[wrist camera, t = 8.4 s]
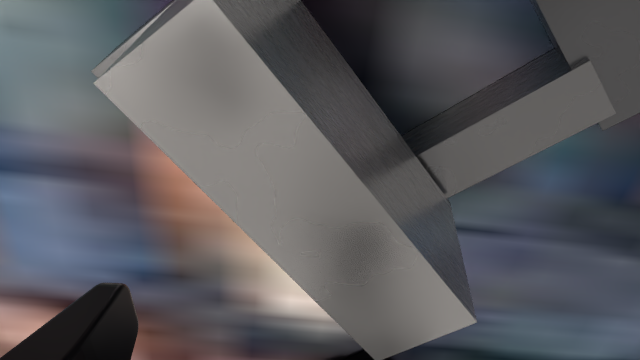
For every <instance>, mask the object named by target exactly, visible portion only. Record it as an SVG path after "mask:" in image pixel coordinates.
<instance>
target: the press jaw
mask: <svg viewBox="0 0 640 360" xmlns="http://www.w3.org/2000/svg"><path fill="white" fill-rule="evenodd" d="M94 84H95V85H96V86H97V87H98V88H99V89H100V90H101V91H102V92H103V93H104V94H105V95H106V96H107V97H108V98H109V99H110V100H111V101H112V102H113V103H114V104H115V105H116V106H117V107H118V108H119V109H120V110H121V111H122V112H123V113H124V114H125V115H126V116H127V117H128V118H129V119H130V120H131V121H132V122H133V123H134V124H135V125H136V126H137V127H138V128H139V129H140V130H141V131H142V132H143V133H144V134H145V135H146V136H147V137H149V138H150V139H151V140H152V141H153V142H154V143H155V144H156V145H157V146H158V147H159V148H160V149H161V150H162V151H163V152H164V153H165V154H166V155H167V156H168V157H169V158H170V159H171V160H172V161H173V162H174V163H175V164H176V165H177V166H178V167H179V168H180V169H181V170H182V171H183V172H184V173H185V174H186V175H187V176H188V177H189V178H190V179H191V180H192V181H193V182H194V183H195V184H196V185H197V186H198V187H199V188H200V189H201V190H202V191H203V192H204V193H205V194H207V195H208V196H209V197H210V198H211V199H212V200H213V201H214V202H215V203H216V204H217V205H218V206H219V207H220V208H221V209H222V210H223V211H224V212H225V213H226V214H227V215H228V216H229V217H230V218H231V219H232V220H233V221H234V222H235V223H236V224H237V225H238V226H239V227H240V228H241V229H242V230H243V231H244V232H245V233H246V234H247V235H248V236H249V237H250V238H251V239H252V240H253V241H254V242H255V243H256V244H257V245H258V246H259V247H260V248H261V249H262V250H263V251H265V252H266V253H267V254H268V255H269V256H270V257H271V258H272V259H273V260H274V261H275V262H276V263H277V264H278V265H279V266H280V267H281V268H282V269H283V270H284V271H285V272H286V273H287V274H288V275H289V276H290V277H291V278H292V279H293V280H294V281H295V282H296V283H297V284H298V285H299V286H300V287H301V288H302V289H303V290H304V291H305V292H306V293H307V294H308V295H309V296H310V297H311V298H312V299H313V300H314V301H315V302H316V303H317V304H318V305H319V306H320V307H321V308H322V309H324V310H325V311H326V312H327V313H328V314H329V315H330V316H331V317H332V318H333V319H334V320H335V321H336V322H337V323H338V324H339V325H340V326H341V327H342V328H343V329H344V330H345V331H346V332H347V333H348V334H349V335H350V336H351V337H352V338H353V339H354V340H355V341H356V342H357V343H358V344H359V345H360V346H361V347H362V348H363V349H364V350H365V351H366V352H367V353H368V354H369V355H370V356H371V357H372V358H373V359H374V360H383V359H385V358H388V357H390V356H393V355H395V354H398V353H400V352H403V351H405V350H408V349H411V348H413V347H416V346H418V345H421V344H423V343H426V342H428V341H431V340H433V339H436V338H438V337H441V336H444V335H446V334H449V333H451V332H454V331H456V330H459V329H461V328H464V327H466V326H469V325H471V324H474V323H477V319H476V315H475V310H474V306H473V302H472V297H471V293H470V288H469V284H468V280H467V275H466V271H465V266H464V262H463V257H462V253H461V249H460V244H459V240H458V235H457V231H456V227H455V222H454V218H453V213H452V209H451V204H450V202H449V201H448V199H447V198H446V197H445V195H444V194H443V192H442V191H441V190H440V188H439V187H438V186H437V184H436V183H435V182H434V180H433V179H432V178H431V176H430V175H429V173H428V172H427V171H426V169H425V168H424V167H423V165H422V164H421V163H420V161H419V160H418V159H417V157H416V156H415V154H414V153H413V152H412V150H411V149H410V148H409V146H408V145H407V144H406V142H405V141H404V140H403V138H402V137H401V135H400V134H399V133H398V131H397V130H396V129H395V127H394V126H393V125H392V123H391V122H390V121H389V119H388V118H387V117H386V115H385V114H384V112H383V111H382V110H381V108H380V107H379V106H378V104H377V103H376V102H375V100H374V99H373V98H372V96H371V95H370V93H369V92H368V91H367V89H366V88H365V87H364V85H363V84H362V83H361V81H360V80H359V79H358V77H357V76H356V74H355V73H354V72H353V70H352V69H351V68H350V66H349V65H348V64H347V62H346V61H345V60H344V58H343V57H342V55H341V54H340V53H339V51H338V50H337V49H336V47H335V46H334V45H333V43H332V42H331V41H330V39H329V38H328V36H327V35H326V34H325V32H324V31H323V30H322V28H321V27H320V26H319V24H318V23H317V22H316V20H315V19H314V17H313V16H312V15H311V13H310V12H309V11H308V9H307V8H306V7H305V5H304V4H303V3H302V1H301V0H176V1H175V2H174V3H173V4H171V5H170V6H169V7H168V8H167V9H166V10H165V11H164V12H163V13H162V14H161V15H160V16H159V17H158V18H157V19H156V20H155V21H154V22H153V23H152V24H151V25H150V26H149V27H148V28H147V29H146V30H145V31H144V32H143V33H142V34H141V35H140V36H139V37H138V39H137V40H136V41H135V42H134V43H133V44H132V45H131V46H130V47H129V48H128V49H127V50H126V51H125V52H124V53H123V54H122V55H121V56H120V57H119V58H118V59H117V60H116V61H115V62H114V63H113V64H112V65H111V66H110V67H109V68H108V69H107V70H106V71H105V72H104V73H103V74H102V75H101V76H100V77H99V78H98V79H97V80H96V81H95V82H94Z"/></svg>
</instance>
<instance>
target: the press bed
mask: <svg viewBox="0 0 640 360" xmlns="http://www.w3.org/2000/svg"><path fill="white" fill-rule="evenodd" d="M175 1H176V0H172V1H171V2H170V3H169V4H167V5H166V6H165V7H164V8H163V9H161V10H160V11H159V12H158V13H157V14H156V15H154V16H153V17H152V18H151V19H150V20H148V21H147V22H146V23H145V24H144V25H142V26H141V27H140V28H139V29H138V30H137V31H135V32H134V33H133V34H132V35H131V36H129V37H128V38H127V39H126V40H125V41H124V42H122V43H121V44H120V45H119V46H118V47H116V48H115V49H114V50H113V51H112V52H111V53H110V54H109V55H108V56H107V57H106V58H105V59H103V60H102V61H101V62H100V63H99V64H98V65H97V66H96V67H95V68H94V69H93V70H92V71H91V72H92V73H93V74H94V75H95V76H96V77H97V78H99V77H100V76H101V75H102V74H103V73H104V72H105V71H106V70H107V69H108V68H109V67H110V66H111V65H112V64H113V63H114V62H115V61H116V60H117V59H118V58H119V57H120V56H121V55H122V54H123V53H124V52H125V51H126V50H127V49H128V48H129V47H130V46H131V45H132V44H133V43H134V42H135V41H136V40H137V39H138V37H139V36H140V35H141V34H142V33H143V32H144V31H145V30H146V29H147V28H148V27H149V26H150V25H151V24H152V23H153V22H154V21H155V20H156V19H157V18H158V17H159V16H160V15H161V14H162V13H163V12H164V11H165V10H166V9H167V8H168V7H169V6H170V5H171V4H173V3H174V2H175ZM530 2H531V3H532V5H533V7H534V9H535V11H536V13H537V15H538V17H539V19H540V21H541V23H542V25H543V27H544V29H545V31H546V32H547V34H548V36H549V38H550V40H551V42H552V44H553V46H554V49H553V50H551V51H549V52H547V53H546V54H544V55H542V56H540V57H539V58H537V59H535V60H533V61H532V62H530V63H528V64H526V65H525V66H523V67H521V68H519V69H518V70H516V71H514V72H512V73H511V74H509V75H507V76H505V77H504V78H502V79H500V80H498V81H497V82H495V83H493V84H491V85H490V86H488V87H486V88H484V89H483V90H481V91H479V92H477V93H476V94H474V95H472V96H470V97H469V98H467V99H465V100H463V101H462V102H460V103H458V104H456V105H455V106H453V107H451V108H450V109H448V110H446V111H444V112H443V113H441V114H439V115H437V116H436V117H434V118H432V119H430V120H429V121H427V122H425V123H423V124H422V125H420V126H418V127H416V128H415V129H413V130H411V131H409V132H408V133H406V134H404V135H402V136H401V137H402V138H403V140H404V141H405V142H406V144H407V145H408V146H409V148H410V149H411V150H412V152H413V153H414V154H415V156H416V157H417V159H418V160H419V161H420V163H421V164H422V165H423V167H424V168H425V169H426V171H427V172H428V173H429V175H430V176H431V178H432V179H433V180H434V182H435V183H436V184H437V186H438V187H439V188H440V190H441V191H442V192H443V194H444V195H445V197H446V198H449V197H451V196H453V195H455V194H457V193H459V192H461V191H463V190H465V189H467V188H469V187H471V186H473V185H475V184H477V183H479V182H481V181H483V180H485V179H487V178H489V177H491V176H493V175H495V174H497V173H499V172H501V171H502V170H504V169H506V168H508V167H510V166H512V165H514V164H516V163H518V162H520V161H522V160H524V159H526V158H528V157H530V156H532V155H534V154H536V153H538V152H540V151H542V150H544V149H546V148H548V147H550V146H552V145H554V144H556V143H558V142H560V141H562V140H564V139H566V138H568V137H570V136H572V135H574V134H576V133H578V132H580V131H582V130H584V129H586V128H588V127H590V126H592V125H594V124H596V123H597V124H598V125H599V127H600V128H601V129H602V131H604V130H606V129H608V128H610V127H612V126H614V125H616V124H618V123H620V122H622V121H624V120H626V119H628V118H630V117H632V116H634V115H636V114H638V113H640V0H530Z"/></svg>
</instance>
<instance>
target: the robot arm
mask: <svg viewBox="0 0 640 360" xmlns="http://www.w3.org/2000/svg"><path fill="white" fill-rule="evenodd" d="M137 333H138V318H137V315H136V311H135V307H134V304H133V300H132V297H131V293H130V290H129V288H128V287H127V285H125V284H122V283H100V284H98V285H96V286H95V287H93V288H92V289H91V290H89V291H88V292H87V293H85V294H84V295H83V296H81V297H80V298H79V299H77V300H76V301H75V302H73V303H72V304H71V305H70V306H68V307H67V308H66V309H64V310H63V311H62V312H60V313H59V314H58V315H56V316H55V317H54V318H52V319H51V320H50V321H48V322H47V323H46V324H45V325H43V326H42V327H41V328H39V329H38V330H37V331H35V332H34V333H33V334H31V335H30V336H29V337H27V338H26V339H25V340H23V341H22V342H21V343H19V344H18V345H17V346H16V347H14V348H13V349H12V350H10V351H9V352H8V353H6V354H5V355H4V356H2V357H1V358H0V360H131V356H132V352H133V348H134V345H135V341H136V337H137ZM345 360H374V359H373V358H372V357H371V356H370V355H369V354H368V353H367V352H366V351H364V352H362V353H359V354H357V355H354V356H352V357H349V358H347V359H345ZM383 360H389V359H388V358H385V359H383Z"/></svg>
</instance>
